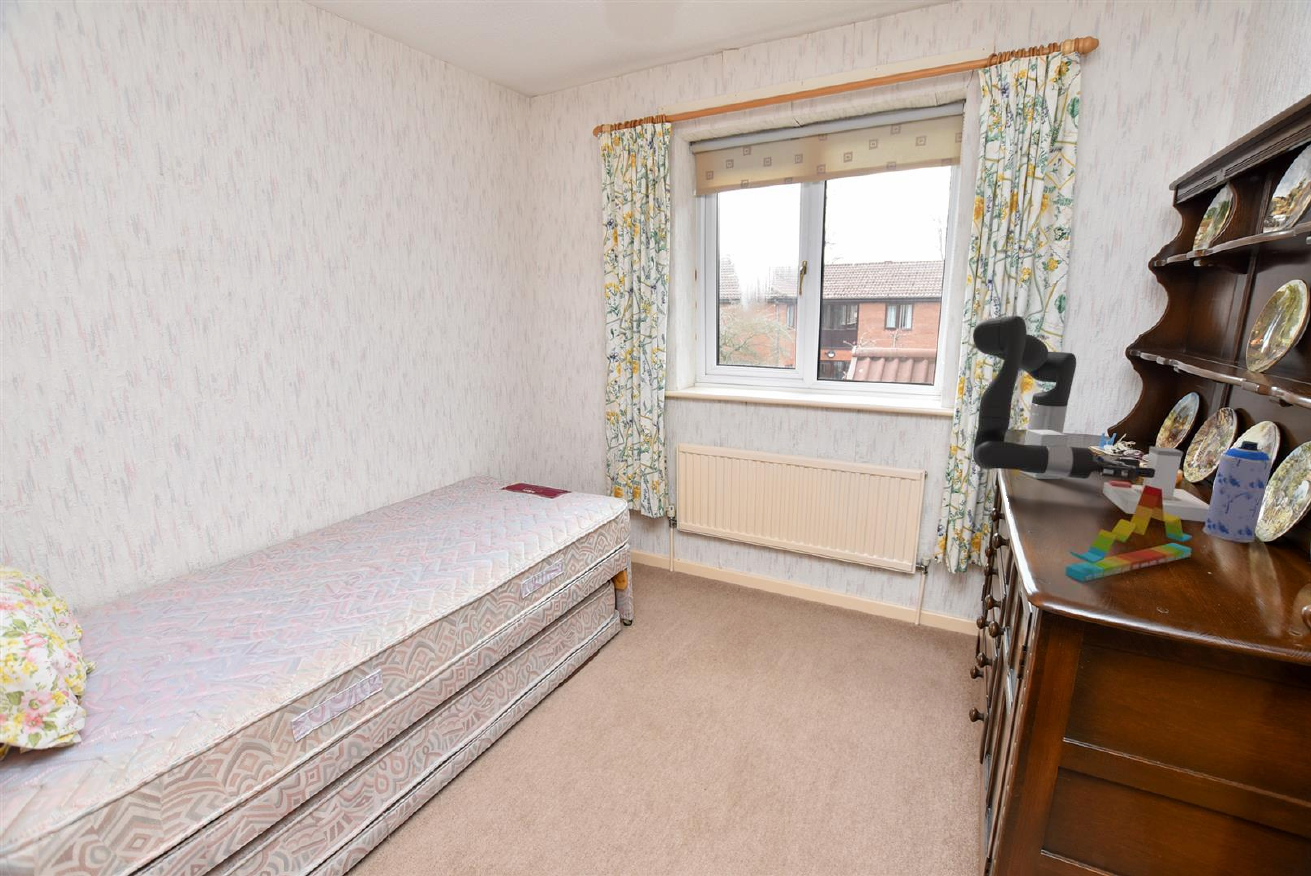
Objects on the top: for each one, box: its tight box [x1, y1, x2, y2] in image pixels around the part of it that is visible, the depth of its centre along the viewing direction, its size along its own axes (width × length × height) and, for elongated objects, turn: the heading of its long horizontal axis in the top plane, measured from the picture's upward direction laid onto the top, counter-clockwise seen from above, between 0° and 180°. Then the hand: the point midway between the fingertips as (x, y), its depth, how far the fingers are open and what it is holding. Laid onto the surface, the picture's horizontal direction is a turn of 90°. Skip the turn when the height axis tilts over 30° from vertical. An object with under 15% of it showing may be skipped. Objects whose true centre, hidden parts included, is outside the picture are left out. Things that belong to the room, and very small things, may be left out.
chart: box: [1065, 485, 1193, 582], centre depth 105 cm, size 30×3×15 cm, turn 111°
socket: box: [1102, 480, 1210, 523], centre depth 138 cm, size 16×16×4 cm
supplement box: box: [1019, 429, 1069, 480], centre depth 163 cm, size 7×7×13 cm
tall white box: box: [1141, 446, 1184, 500], centre depth 137 cm, size 5×5×14 cm
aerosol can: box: [1202, 440, 1273, 543], centre depth 120 cm, size 8×8×20 cm
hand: (1146, 468), depth 138 cm, fingers open, 8 cm apart
